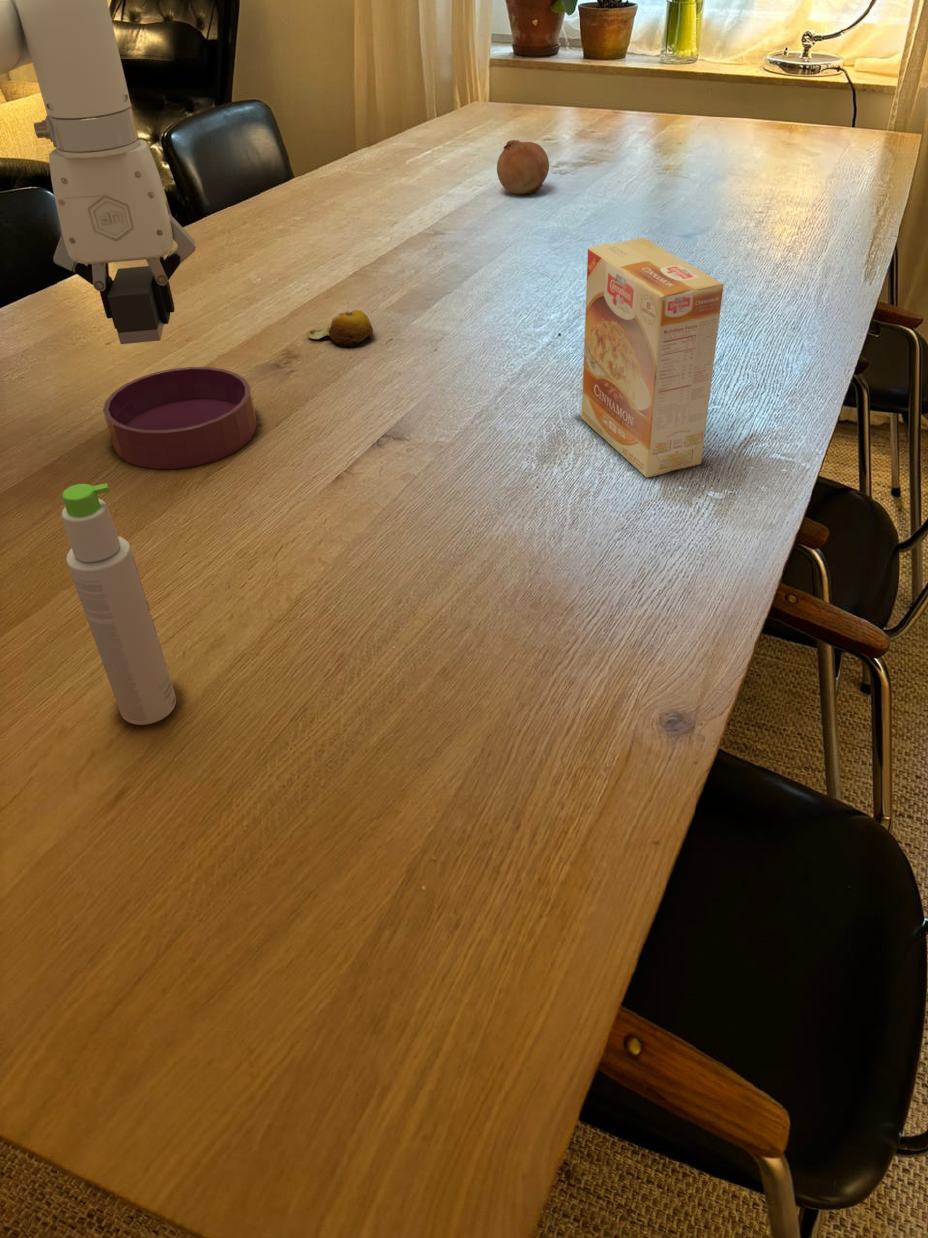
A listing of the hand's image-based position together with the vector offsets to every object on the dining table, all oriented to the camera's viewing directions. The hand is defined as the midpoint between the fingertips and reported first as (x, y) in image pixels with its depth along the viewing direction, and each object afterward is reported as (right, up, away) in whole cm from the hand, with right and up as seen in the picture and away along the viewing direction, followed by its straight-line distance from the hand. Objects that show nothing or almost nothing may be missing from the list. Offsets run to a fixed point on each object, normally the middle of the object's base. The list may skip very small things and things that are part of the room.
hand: (142, 319), depth 104 cm
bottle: (+8, -38, -24) cm, 46 cm away
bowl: (+1, -10, +11) cm, 15 cm away
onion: (+44, +47, +79) cm, 102 cm away
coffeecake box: (+53, -12, +6) cm, 54 cm away
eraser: (0, -1, +1) cm, 1 cm away
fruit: (+18, +7, +32) cm, 37 cm away
